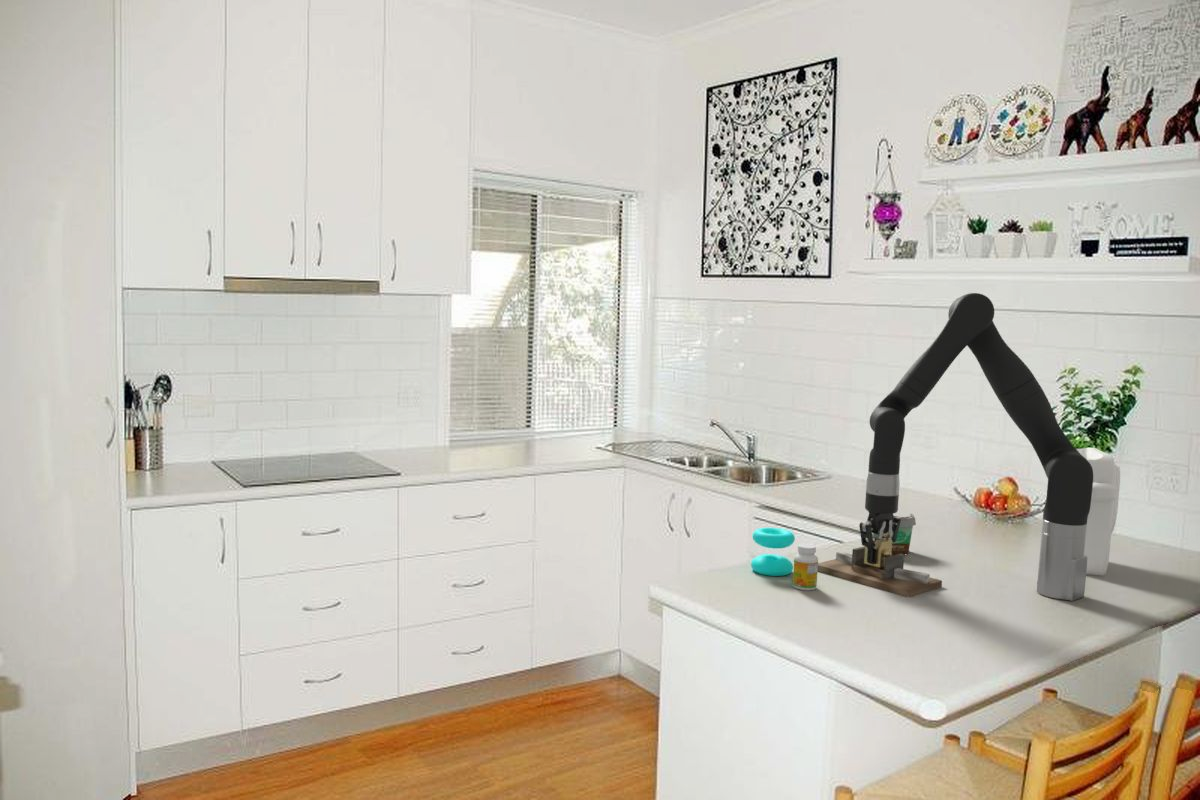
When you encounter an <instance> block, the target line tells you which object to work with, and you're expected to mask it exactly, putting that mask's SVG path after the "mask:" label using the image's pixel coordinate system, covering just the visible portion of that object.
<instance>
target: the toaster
mask: <svg viewBox="0 0 1200 800" xmlns="http://www.w3.org/2000/svg"><path fill="white" fill-rule="evenodd" d="M1076 450H1077V451H1078V452H1079V453H1080V454H1081V455H1082V456H1083V457H1084V458H1085V459H1087V460H1088V462H1089V463H1090V464H1091V466H1092V469H1093V488H1092V497H1091V506H1090V511H1089V514H1088V519H1087V528H1086V539H1085V551H1084V556H1087V557H1088V559H1087V570H1086V575H1093V576H1105V575H1106V573H1107V569H1108V566H1109V560H1110V559H1109V558H1110V552H1111V541H1112V534H1113V532H1114V531H1115V526H1116V523H1117V518H1118V507H1119V496H1120V488H1121V487H1120V485H1121V469H1120V466H1119V465H1117V464H1116V462H1115V460H1114V458H1113V457H1112V456H1111V454H1108V453H1106V452H1104V451H1102V450H1100V449H1099V448H1096V447H1089V446H1088V447H1082V448H1076Z"/></svg>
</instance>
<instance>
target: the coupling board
mask: <svg viewBox="0 0 1200 800" xmlns="http://www.w3.org/2000/svg"><path fill="white" fill-rule="evenodd" d="M851 552H852V554H851V553H849V552H845V551H843V550H842V551H841V550H840V551H836V554H835V559H831V560H827V561H822V562H818V571H817V572H820V573H823V574H826V575H829V576H834V577H837V578H840V579H843V580H848V581H851V582H855V583H859V584H862V585H865V586H868V587H872V588H876V589H880V590H883V591H886V592H890V593H893V594H897V595H900V596H905V597H907V598H909V597H912V596H915V595H919V594H923V593H926V592H929V591H933V590H937V589H939V588H942V587H943V586H942V585H943V580H941V579H938V578H934V577H930V573H926V572H921V571H915V570H910V569H904V566H905V565H904V562H905V555H904V554H901V553H900V554H896V555H892V556H888V557H885V565H884V567H876V566H872V565H868V564H865V563H864V557H865V546H863V545H862V546H860V547H855V548H852V551H851Z"/></svg>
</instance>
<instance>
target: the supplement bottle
mask: <svg viewBox="0 0 1200 800" xmlns="http://www.w3.org/2000/svg"><path fill="white" fill-rule="evenodd" d="M816 551H817V548H816V545H814V544H811V543H799V544H797V553H796V554H795V555H794V558H793V559H794V560H793V570H792V571H793V573H792V574H793V575H792V587H793V588H794V589H797V590H801V591H813V590H816V589H817V584H818V583H817V582H818V572H819V571H818V563H819V557H818V556H817V555H816V554H815V553H816Z"/></svg>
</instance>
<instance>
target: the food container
mask: <svg viewBox="0 0 1200 800" xmlns="http://www.w3.org/2000/svg"><path fill="white" fill-rule="evenodd" d="M894 517H897V518H900V519H901V522H900V526H899V530H898V534H897V539H896V542H892V555H896V554H900V553H901V554H904V556H906V555H905V554H907V555H909V552H910V545H911V540H912V534H913V528H914V526H916V525H917V523H916V518H915V515H914V514H913V513H910V515H909V516H897V515H894ZM893 527H894V526H893ZM892 533H893V531H892ZM873 535H875V536H876V535H877V534H873ZM892 536H893V535H892ZM892 536H891V537H892ZM884 538H885V537H884Z"/></svg>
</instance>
